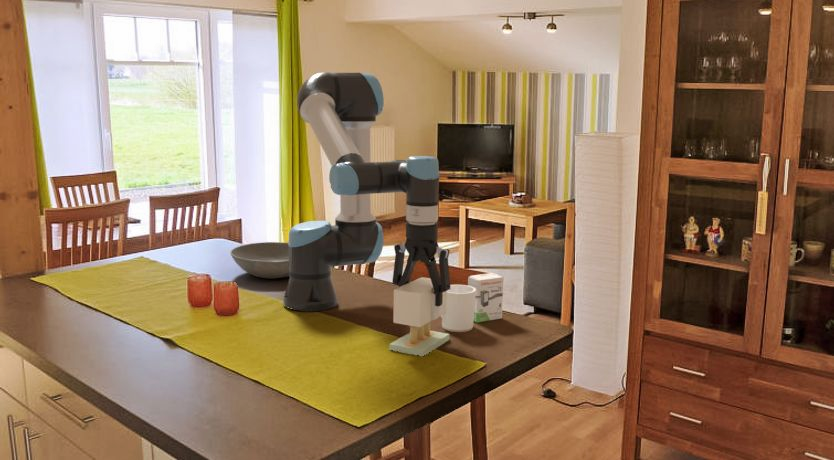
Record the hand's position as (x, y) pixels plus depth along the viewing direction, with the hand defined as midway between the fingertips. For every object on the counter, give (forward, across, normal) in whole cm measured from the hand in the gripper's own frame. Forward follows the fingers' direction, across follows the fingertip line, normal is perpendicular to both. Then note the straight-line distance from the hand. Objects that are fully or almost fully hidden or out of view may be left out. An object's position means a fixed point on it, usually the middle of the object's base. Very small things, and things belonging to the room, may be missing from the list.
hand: (420, 316), depth 189 cm
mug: (+7, +1, +17) cm, 19 cm away
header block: (+7, 0, 0) cm, 7 cm away
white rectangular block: (0, 0, 0) cm, 0 cm away
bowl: (+7, -73, +37) cm, 82 cm away
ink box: (+7, +5, +28) cm, 29 cm away
